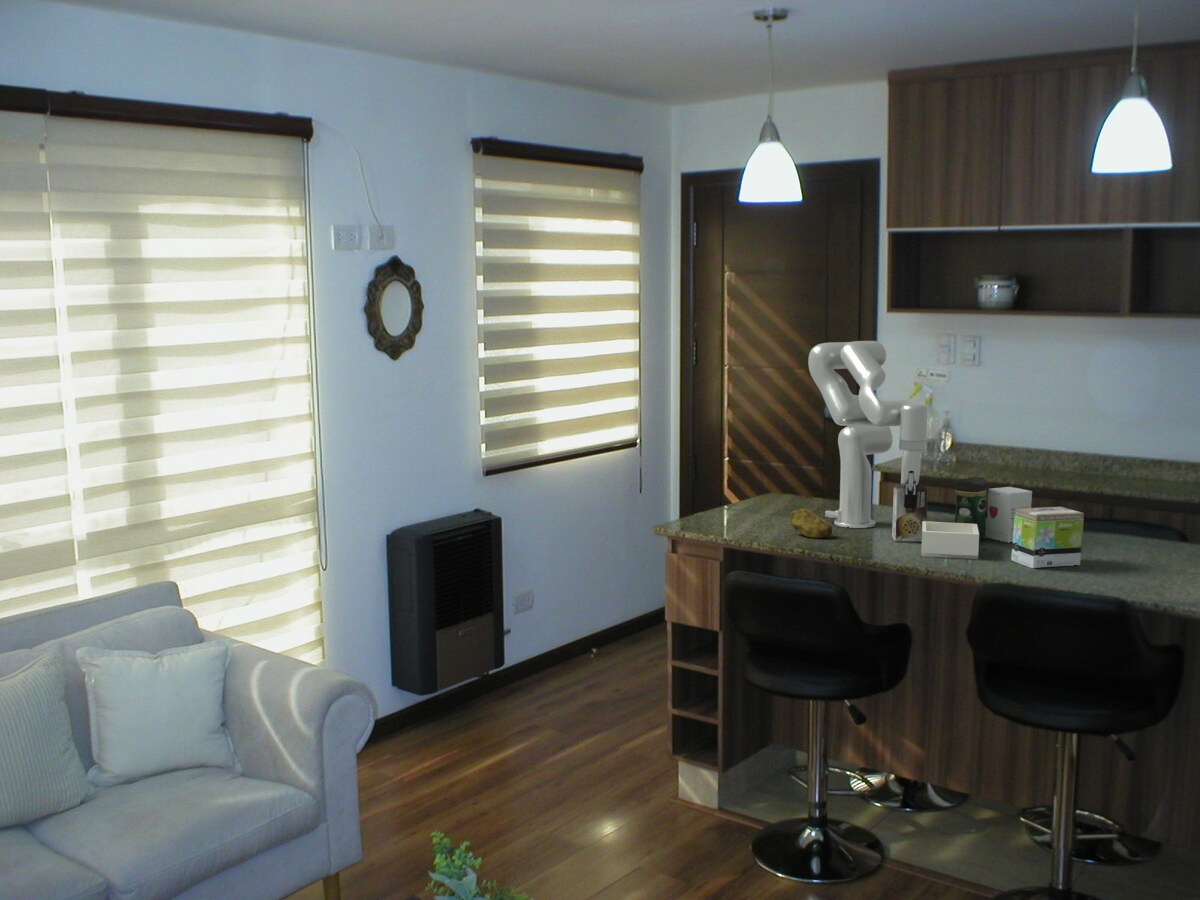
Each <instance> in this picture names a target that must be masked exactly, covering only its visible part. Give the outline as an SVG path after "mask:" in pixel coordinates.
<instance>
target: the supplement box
mask: <svg viewBox="0 0 1200 900" xmlns="http://www.w3.org/2000/svg"><path fill="white" fill-rule="evenodd" d="M987 492H988V495H987V514H986V537H988V538H987V539H990V538H992V539H991V540H994V539H996V540H995V541H998V540H1000V541H999V542H1002V541H1004V542H1003V543H1005V542H1008V543H1007V544H1010V543H1009V542H1013V529H1014V517H1015V509H1021V508H1032V500H1033V497H1032V496H1033V491H1032V490H1028V489H1023V488H1019V487H1018V488H1017V487H1013V486H1005V487H1004V486H1002V487H994V488H988V490H987ZM986 537H985V538H986Z"/></svg>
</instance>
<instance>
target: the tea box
mask: <svg viewBox="0 0 1200 900" xmlns="http://www.w3.org/2000/svg"><path fill="white" fill-rule="evenodd" d="M1084 515H1085V513H1084V512H1081V511H1077V510H1075V509H1070V508H1066V507H1063V506H1048V507H1031V508H1021V509H1015V517H1014V529H1013V543H1011V544H1012V548H1011V556H1010V557H1011V558H1010V559H1011V561H1012V562H1015V563H1017V564H1019V565H1022V566H1023V567H1024V566H1026V568H1027V567H1028V568H1031V569H1037V568H1038V569H1039V568H1051V567H1053V568H1054V567H1056V568H1057V567H1075V566H1074V565H1079V566H1081V560H1082V559H1081V558H1082V549H1083V548H1082V547H1083V533H1084V520H1085V519H1084V518H1085V517H1084Z"/></svg>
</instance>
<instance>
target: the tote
mask: <svg viewBox="0 0 1200 900" xmlns="http://www.w3.org/2000/svg"><path fill="white" fill-rule="evenodd" d="M979 543H980V540H979V531H978V527H977V524H968V523H955V522H943V521H942V522H941V521H928V520H927V521H922V542H921V551H920V553H921V555H920V556H921V557H929V558H946V559H965V560H966V559H967V560H979V548H980V547H979V546H980V545H979Z"/></svg>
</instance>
